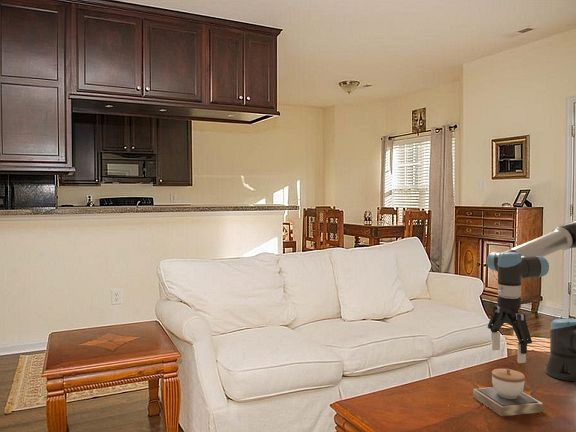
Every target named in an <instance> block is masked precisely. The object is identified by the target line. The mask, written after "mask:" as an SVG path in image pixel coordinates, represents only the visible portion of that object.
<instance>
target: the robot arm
mask: <svg viewBox="0 0 576 432" xmlns="http://www.w3.org/2000/svg"><path fill="white" fill-rule="evenodd" d="M573 248H574V249H575V248H576V220H573V221H571V222H567V223H565V224H562V225H561V224H560V225H559V226H557V227H554V228H553V229H551V232H549V233H546V234H543V235H541V236H538V237H537V238H534V239H532V240H529V241H526V242H524V243H522V244H520V245H516V246H515V247H512V248H509V249H508V250H505V251H492V252H490V253H489V254H488V256H487V257H486V264H487V265H486V266H487V267H488V268H489V270H491V271H495V272H497V295H498V296H496V297H497V300H496V302H497V305H494V306H493V308H492V310H493V311H492V314H491V316H490V320H489V322H488V325H487V329H490V332H491V341H492V342H491V350H492V351H500V350H501V332H500V330H501V328H502V327H503V326H504V324H505V323H506V324H509V326H510V327H512V329H513V331H514V333H515V336H516V338H517V341H518V343H517V363H518V364H524V363H526V362H527V353H528V345H531V344H532V343H533V340H532V337H531V334H530V330H529V327H528V324H527V320H526V314H525V313H519V310H520V309H521V307H522V298H521V297H522V279H533V278H536V279H538V278H540V277H545V276H546V275H547V274H548V273H549V271H550V265H549V261H548V260H547V258H546V256H548V255H550V254H552V253H555V252H558V251H560V250H561V251H568V250H569V249H573ZM549 329H550V331H549V332H550V334H549V335H550V337H549V338H550V340H549V343H550V345H549V346H550V347H549V349H550V350H549V356H548V359H547V362H546V364H545V366H544V372H545V374H546V375H548V376H550V377H552V378H555V379H558V380H562V381H568V382H576V318H556V319H554V320H552V321H551V322H550V328H549Z"/></svg>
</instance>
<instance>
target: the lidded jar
mask: <svg viewBox="0 0 576 432" xmlns="http://www.w3.org/2000/svg"><path fill="white" fill-rule="evenodd" d="M525 381H526V376H525V374H524V373H523V372H521V371H518V370H516V369H515V370H514V369H510V368H495V369H493V370H492V371H491V383H492V387H494V389H495V390H496V392H497V393H498V394H499V396H501V397H504V398H508V399H515V398H517V396H519V395H520V394H521V393H522V392H524V388H525Z"/></svg>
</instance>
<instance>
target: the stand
mask: <svg viewBox="0 0 576 432" xmlns="http://www.w3.org/2000/svg"><path fill="white" fill-rule="evenodd" d="M472 398H474V399H475V400H476V401H479V402H480V403H481V404H482V403H483V405H484V406H485V405H486V407H487V408H488V407H489V408H488V409H490V410H491V409H492V410H491V411H492V412H495V413H496V414H497V415H499V416H500V417H508V416H518V415H525V414H526V415H527V414H536V413H543V408H544V405H543V404H544V403H543V402H542V401H539V400H537V399H536V398H534V397H532V396H531V395H529V394H527V393H525V392H524V391H522V393H521V394H520V395H519V396H517V398H515V399H508V398H504V397H501V396H499V394H498V393H497V392H496V390H495V389H494V387H493V386H492V387H491V386H490V387H489V386H488V387H481V388H473V389H472Z"/></svg>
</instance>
